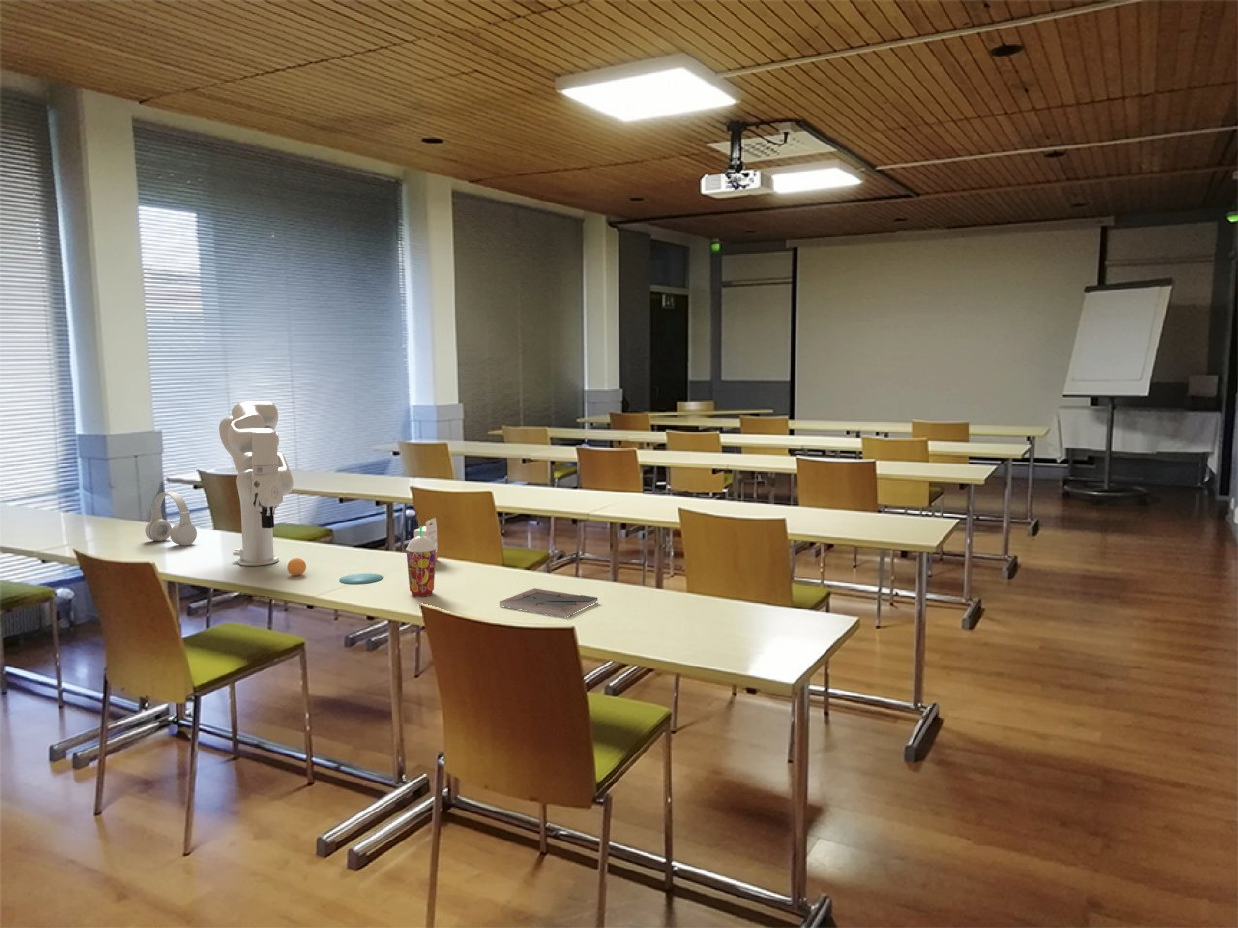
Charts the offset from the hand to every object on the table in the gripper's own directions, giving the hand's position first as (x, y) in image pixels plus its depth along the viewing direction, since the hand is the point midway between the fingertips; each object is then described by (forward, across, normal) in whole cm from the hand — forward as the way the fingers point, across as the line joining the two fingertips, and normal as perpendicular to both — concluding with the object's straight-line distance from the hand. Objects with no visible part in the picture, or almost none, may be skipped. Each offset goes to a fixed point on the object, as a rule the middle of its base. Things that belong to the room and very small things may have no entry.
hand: (268, 527), depth 267 cm
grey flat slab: (+16, -16, -96) cm, 99 cm away
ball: (+12, 0, -9) cm, 15 cm away
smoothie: (+15, -13, -57) cm, 61 cm away
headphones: (+15, +36, +65) cm, 76 cm away
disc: (+15, 0, -31) cm, 35 cm away
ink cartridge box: (+15, +26, -41) cm, 51 cm away
